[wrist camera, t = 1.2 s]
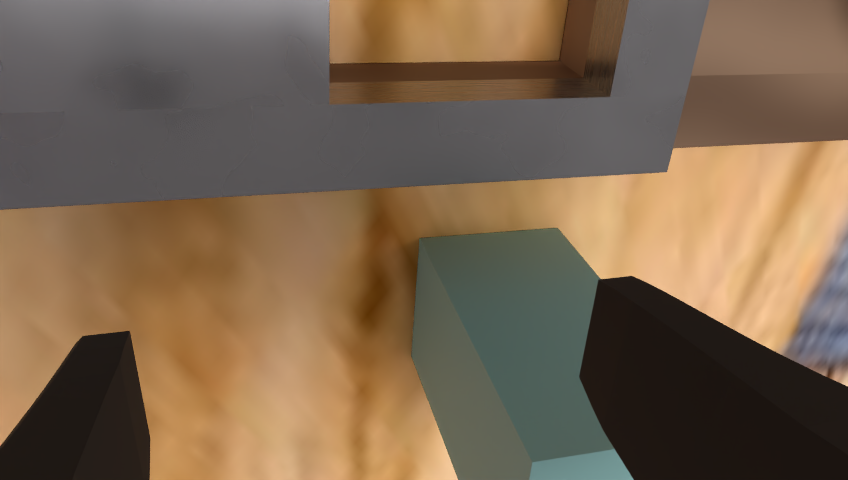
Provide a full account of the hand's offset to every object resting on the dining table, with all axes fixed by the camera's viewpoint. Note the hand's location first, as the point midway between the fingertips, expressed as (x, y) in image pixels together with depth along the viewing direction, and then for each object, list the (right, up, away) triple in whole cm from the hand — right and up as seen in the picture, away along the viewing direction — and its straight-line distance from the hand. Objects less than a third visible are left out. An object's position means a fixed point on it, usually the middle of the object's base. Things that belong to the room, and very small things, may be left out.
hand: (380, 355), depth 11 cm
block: (+3, 0, +12) cm, 13 cm away
